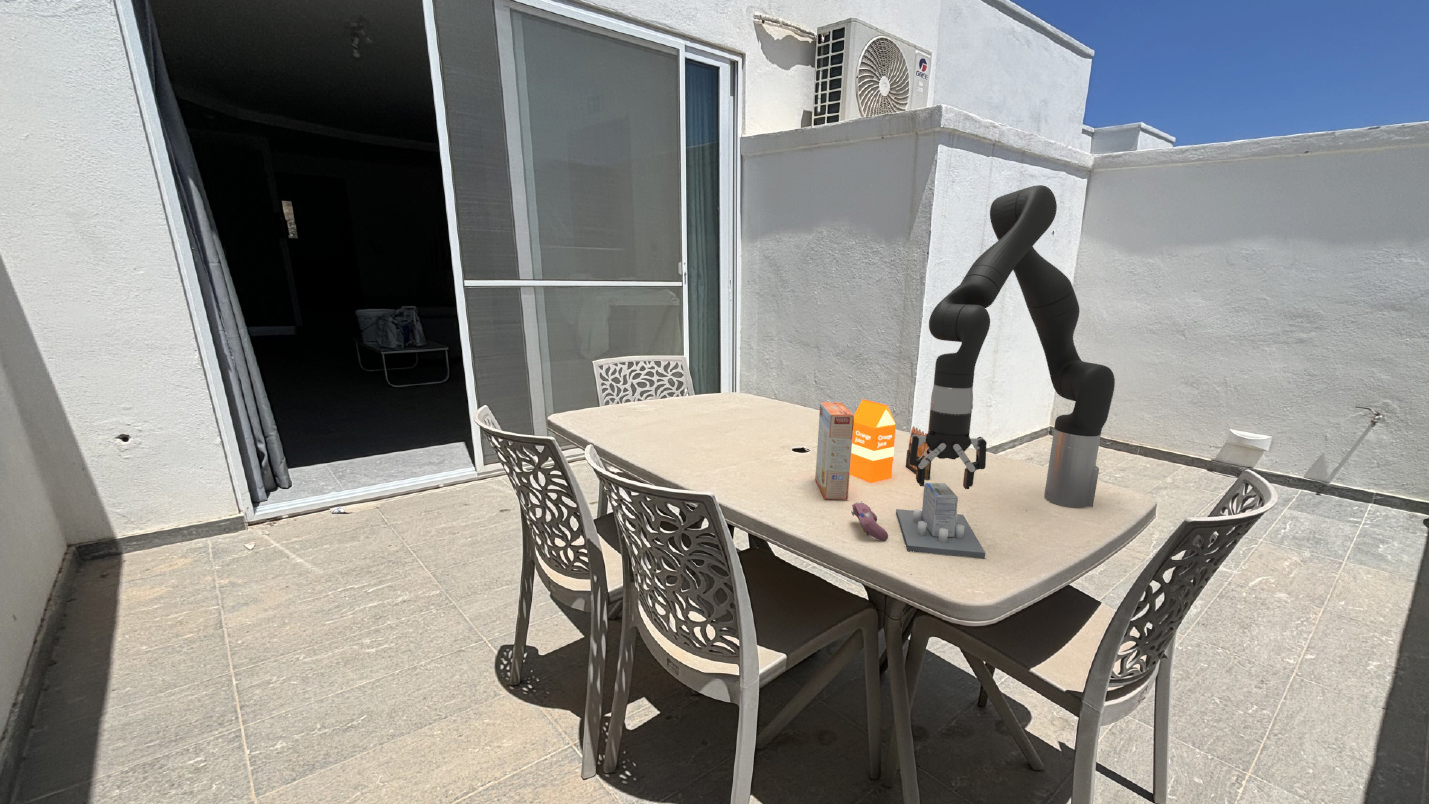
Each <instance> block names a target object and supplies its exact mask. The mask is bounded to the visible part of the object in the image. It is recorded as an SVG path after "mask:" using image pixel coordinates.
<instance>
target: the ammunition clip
mask: <svg viewBox="0 0 1429 804" xmlns="http://www.w3.org/2000/svg"><path fill="white" fill-rule="evenodd" d="M927 433H928V432H924V431H923V430H922V431H921V429H918V427H915V426H914V425H913V426H912V427H911V431H910V435H909V436H910V437H909V441H908V446H909V445H910V438H911V435H912V434H916V435H918V436H926V435H927ZM928 448H929V446H928V445H927V444H926V442H923V443H922V445H921V446H920V447H918V450H917V456H916V459H919V458H920V457H921V456H922V455H923V453H924V452H925V451H926V450H927V449H928ZM908 452H909V448H908V449H907V450H906V458H905V468H906V469H907V470H909V471H910V472H912V473H913V474H915V475H916V470H917V467H916V466H914V465H910V464H909V461H908ZM924 468H925V481H930V480H931V473H932V472H931V470H932V469H931V468H932V461H931V462H929V463H928V464H927V465H926V466H925V467H924Z"/></svg>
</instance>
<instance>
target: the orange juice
mask: <svg viewBox="0 0 1429 804" xmlns="http://www.w3.org/2000/svg"><path fill="white" fill-rule="evenodd" d="M853 415H854V426H853V438H852V451H851V463H850V475H849V476H853V477H856V478H858V479H861V480H863V481H865V482H868V483H870V484H872V483H873V484H874V483H876V482H877V483H878V482H881V481H885V480H889V479H892V477H893V476H892V474H893V462H894V456H895V455H894V453H895V441H896V429H897V424H896V422H895V419H894V417H893V415H892V412H891V410H890V408H889V405H888V404H885V403H884V404H883V403H879V402H876V401H872V400H867V399H864V398H863V399H861V401H860V404H859V405H858V407H857V409H856V411H855V412H854V414H853Z"/></svg>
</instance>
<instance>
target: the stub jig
mask: <svg viewBox="0 0 1429 804" xmlns="http://www.w3.org/2000/svg"><path fill="white" fill-rule="evenodd" d="M895 516H896V519H897V524H898V525H899V529H900V532H901V536H902V539H903V542H904V545H906V546H905V548H906V552H910V551H912V552H913V551H914V552H913V553H922V554H930V553H932V554H933V555H940V556H941V555H942V556H954V557H965V558H973V559H985V560H986V554H987V553H986V551H985V549H984V547H983V546H982V544H981V543H980V541H979V539H978V538H977V536H976V534H975V533H974V530H973V529H972V528H971V525H970V524H969V522H968V520H967V518H966V517H965V515H964V514H959V513H957V514H956V524H955V535H954V537H948V529H946V528H940V529H939V537H936V536H932V534H931V533H930V531H929V530H928V529H927V527H926V526H927V523H926V522H924V521H922V520H921V517H922V509H917V508H916V509H914V510H913V509H911V510H910V509H899V508H896V509H895Z"/></svg>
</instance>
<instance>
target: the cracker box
mask: <svg viewBox="0 0 1429 804" xmlns="http://www.w3.org/2000/svg"><path fill="white" fill-rule="evenodd" d="M853 426H854V414H853V413H852V411H851V410H850V409H849V408H848V407H847V406H846V405H845V404H844V403H843V402H839V401H838V402H837V401H821V402H820V404H819V415H818V432H817V445H816V446H817V447H816V448H817V449H816V451H817V452H816V459H815V460H816V462H815V476H814V480H815V482H816V484H817V486H818V488H819V490H820V492H821V495H822V497H823V499H824V500H835V501H836V500H837V501H839V500H842V501H848V499H849V487H850V486H849V485H850V483H849V482H850V476H851V475H850V463H851V451H852V438H853Z"/></svg>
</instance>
